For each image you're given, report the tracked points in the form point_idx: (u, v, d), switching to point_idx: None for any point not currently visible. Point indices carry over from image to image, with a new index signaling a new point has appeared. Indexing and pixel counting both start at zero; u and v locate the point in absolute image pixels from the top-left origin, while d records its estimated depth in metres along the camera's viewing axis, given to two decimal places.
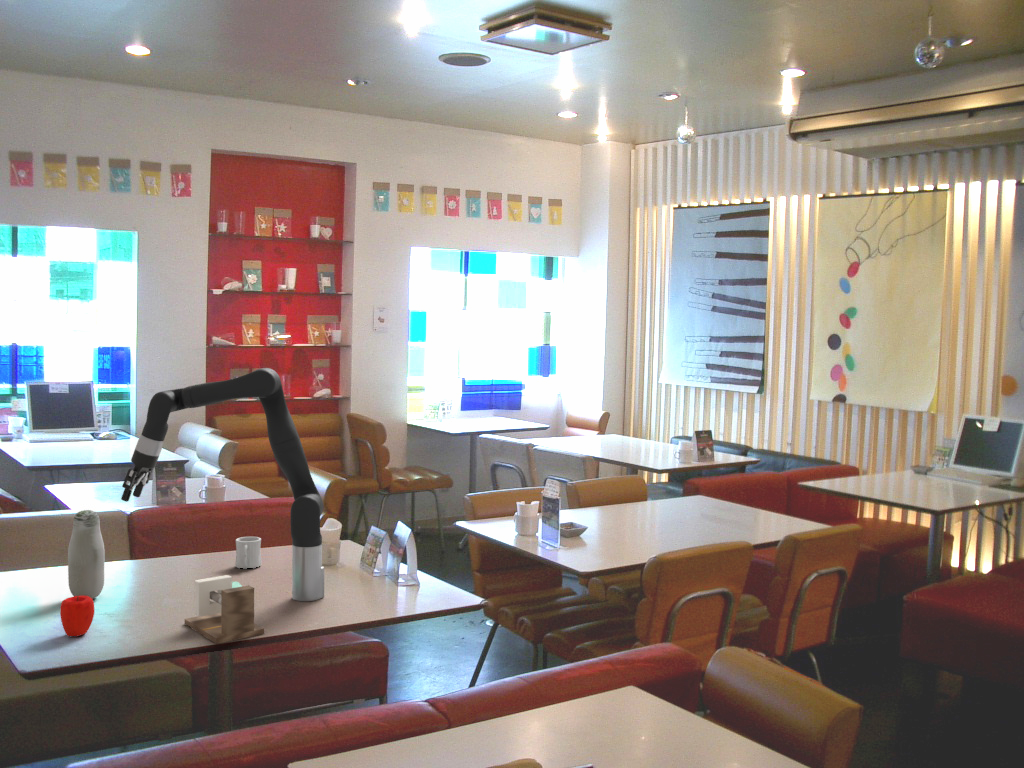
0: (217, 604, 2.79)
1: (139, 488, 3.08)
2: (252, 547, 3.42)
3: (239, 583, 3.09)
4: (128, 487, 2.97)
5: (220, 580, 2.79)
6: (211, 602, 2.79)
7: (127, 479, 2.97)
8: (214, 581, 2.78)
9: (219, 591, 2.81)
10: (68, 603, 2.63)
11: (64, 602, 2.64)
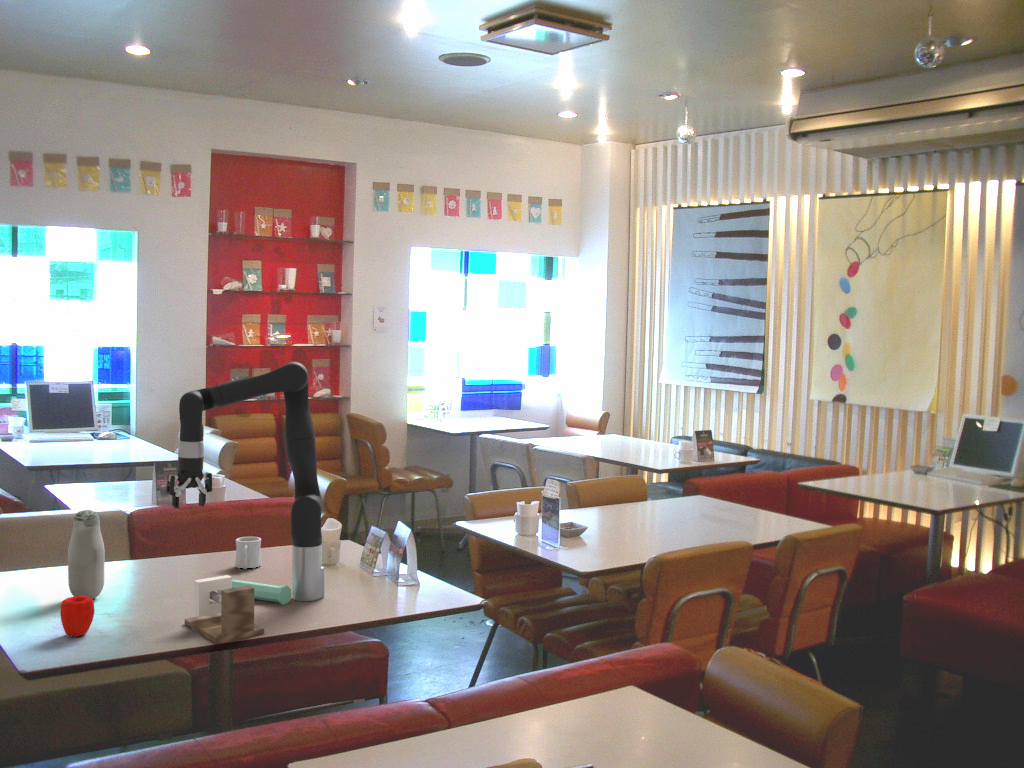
0: (217, 604, 2.79)
1: (201, 496, 3.03)
2: (252, 547, 3.42)
3: None
4: (169, 492, 2.94)
5: (220, 580, 2.79)
6: (211, 602, 2.79)
7: (168, 485, 2.95)
8: (214, 581, 2.78)
9: (219, 591, 2.81)
10: (68, 603, 2.63)
11: (64, 602, 2.64)
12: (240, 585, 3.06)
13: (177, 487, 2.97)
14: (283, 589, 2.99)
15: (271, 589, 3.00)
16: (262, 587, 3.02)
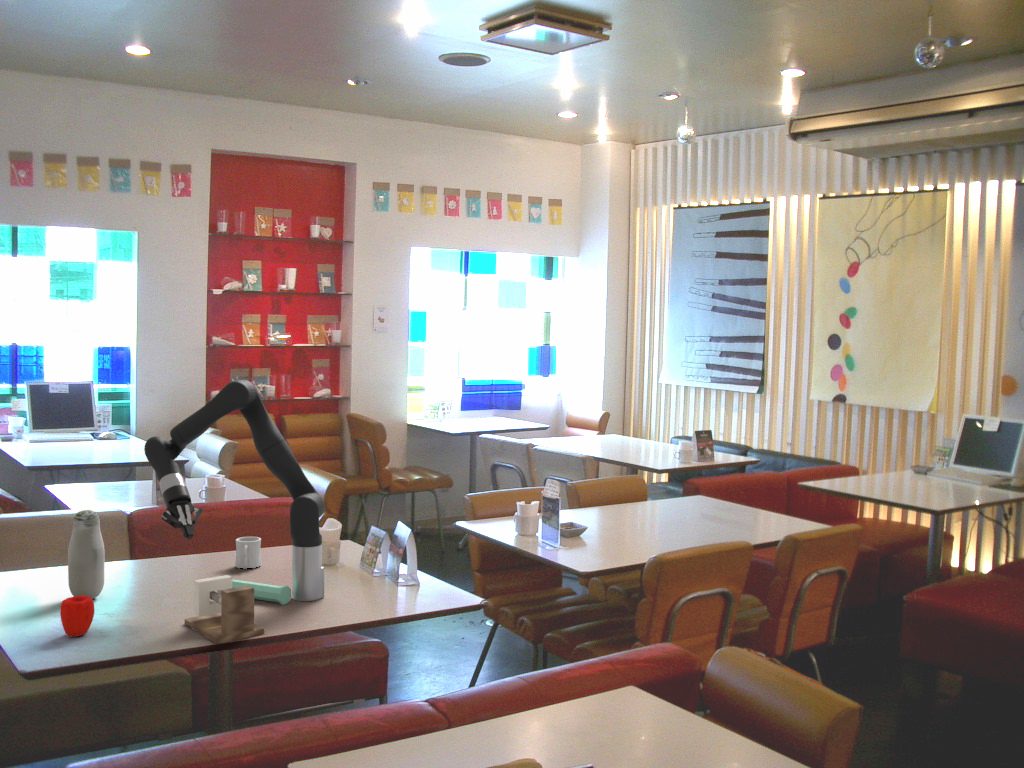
0: (217, 604, 2.79)
1: None
2: (252, 547, 3.42)
3: None
4: (175, 523, 2.91)
5: (220, 580, 2.79)
6: (211, 602, 2.79)
7: (169, 522, 2.92)
8: (214, 581, 2.78)
9: (219, 591, 2.81)
10: (68, 603, 2.63)
11: (64, 602, 2.64)
12: (240, 585, 3.06)
13: (179, 521, 2.94)
14: (283, 589, 2.99)
15: (271, 589, 3.00)
16: (262, 587, 3.02)
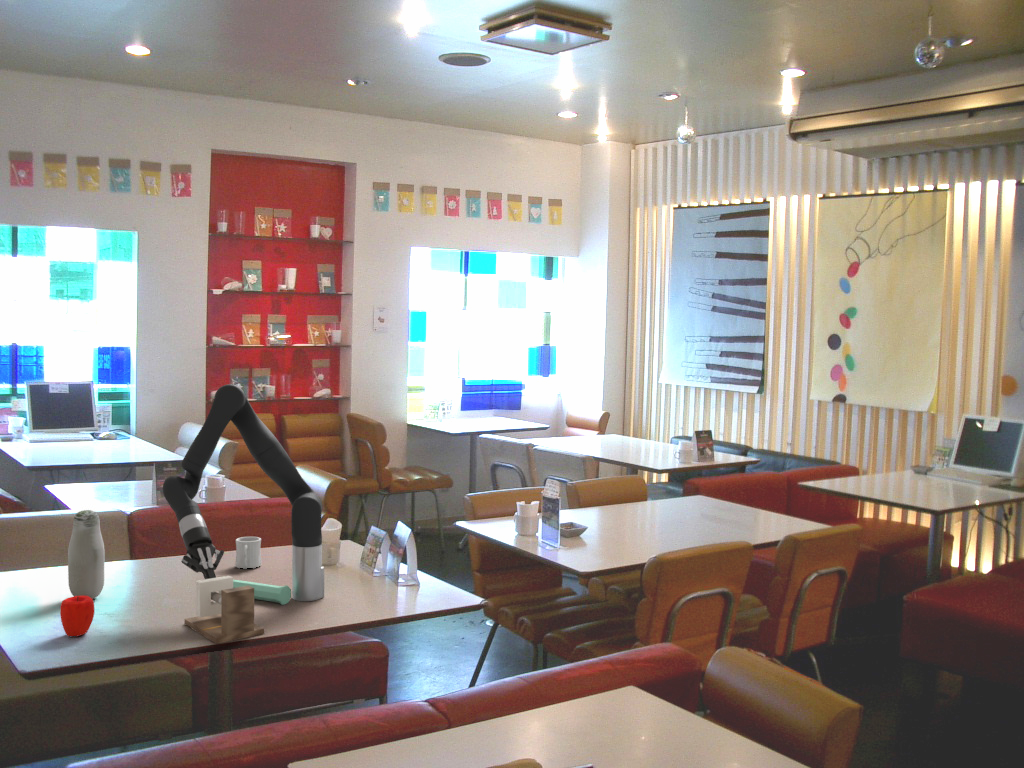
0: (218, 605, 2.78)
1: None
2: (252, 547, 3.42)
3: None
4: (196, 567, 2.80)
5: (221, 581, 2.79)
6: (212, 603, 2.78)
7: (190, 566, 2.81)
8: (215, 582, 2.77)
9: (220, 592, 2.80)
10: (68, 603, 2.63)
11: (64, 602, 2.64)
12: (240, 585, 3.06)
13: (199, 564, 2.83)
14: (283, 589, 2.99)
15: (271, 589, 3.00)
16: (262, 587, 3.02)
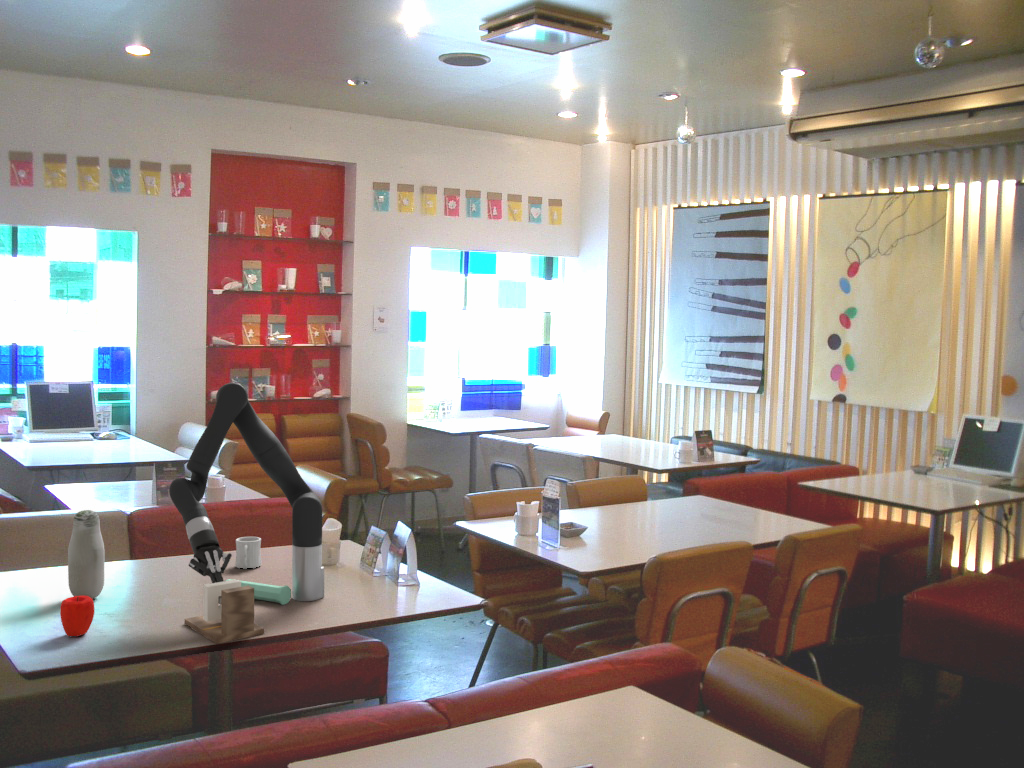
0: None
1: None
2: (252, 547, 3.42)
3: None
4: (204, 570, 2.76)
5: (229, 584, 2.75)
6: (220, 607, 2.74)
7: (197, 569, 2.77)
8: (223, 585, 2.73)
9: None
10: (68, 603, 2.63)
11: (64, 602, 2.64)
12: None
13: (207, 568, 2.79)
14: (283, 589, 2.99)
15: (271, 589, 3.00)
16: (262, 587, 3.02)
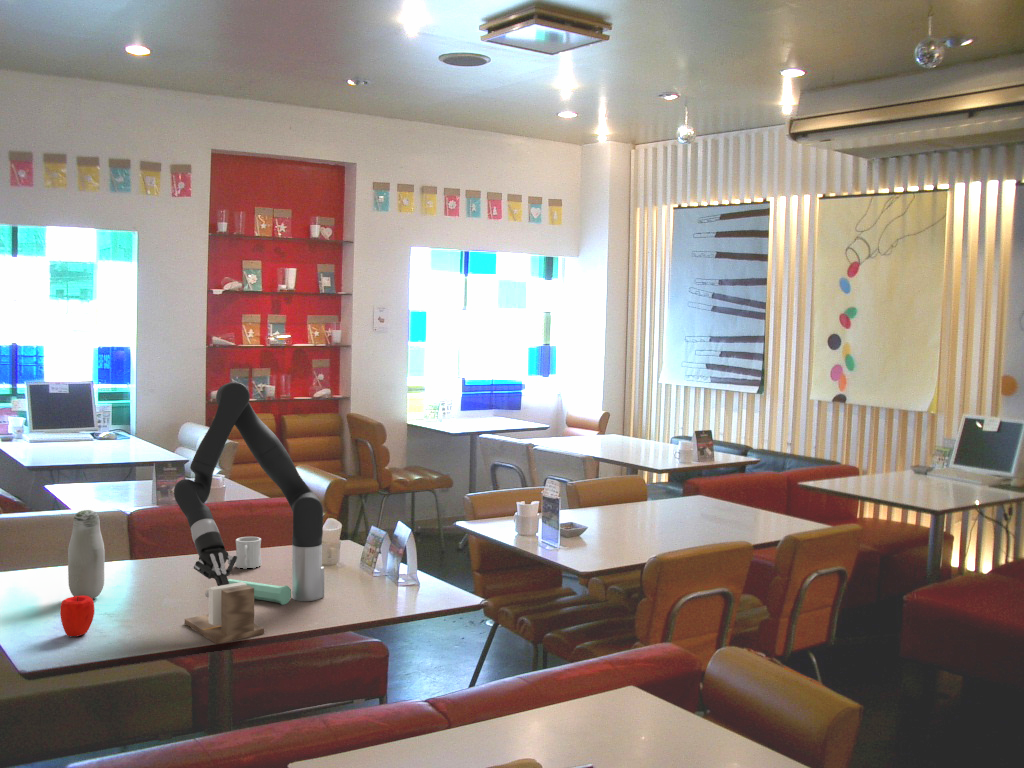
0: None
1: None
2: (252, 547, 3.42)
3: None
4: (209, 573, 2.74)
5: (235, 587, 2.72)
6: None
7: (202, 572, 2.74)
8: (228, 588, 2.71)
9: None
10: (68, 603, 2.63)
11: (64, 602, 2.64)
12: None
13: (212, 570, 2.76)
14: (283, 589, 2.99)
15: (271, 589, 3.00)
16: (262, 587, 3.02)
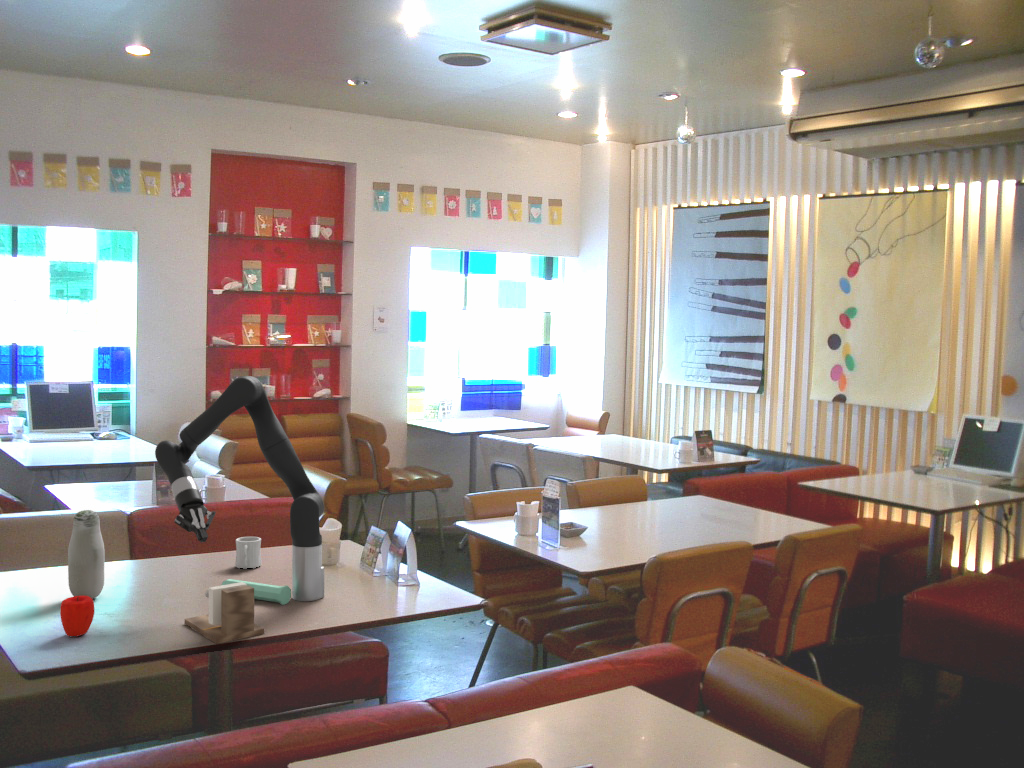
0: None
1: None
2: (252, 547, 3.42)
3: (224, 583, 3.08)
4: (189, 526, 2.90)
5: (235, 587, 2.72)
6: None
7: (182, 526, 2.91)
8: (228, 588, 2.71)
9: None
10: (68, 603, 2.63)
11: (64, 602, 2.64)
12: None
13: None
14: (283, 589, 2.99)
15: (271, 589, 3.00)
16: (262, 587, 3.02)
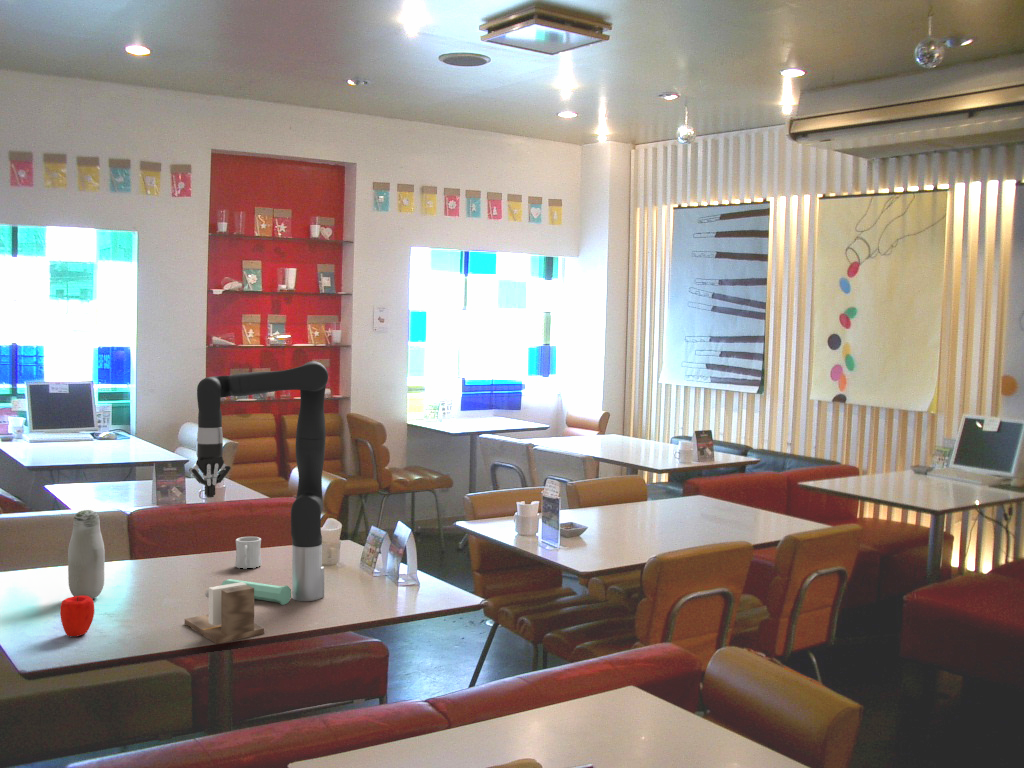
0: None
1: None
2: (252, 547, 3.42)
3: (224, 583, 3.08)
4: (201, 481, 2.96)
5: (235, 587, 2.72)
6: None
7: (195, 477, 2.96)
8: (228, 588, 2.71)
9: None
10: (68, 603, 2.63)
11: (64, 602, 2.64)
12: None
13: (204, 476, 2.98)
14: (283, 589, 2.99)
15: (271, 589, 3.00)
16: (262, 587, 3.02)
